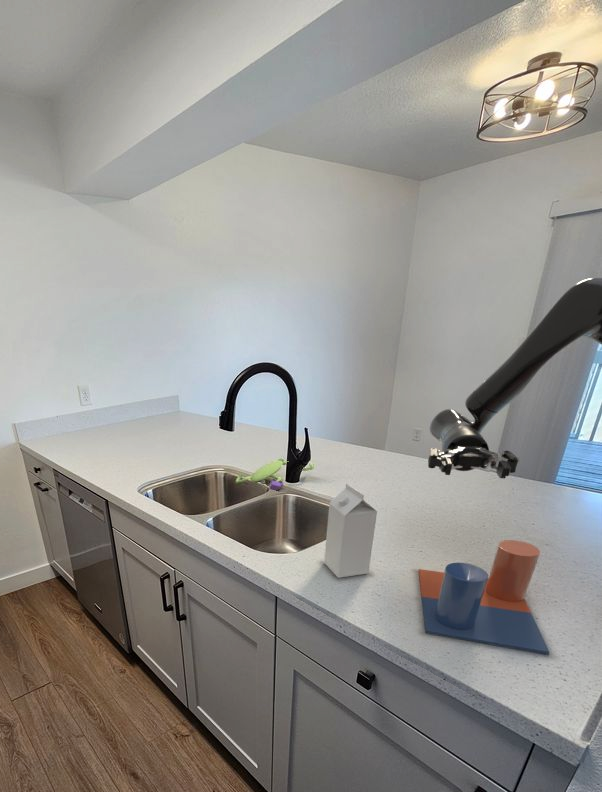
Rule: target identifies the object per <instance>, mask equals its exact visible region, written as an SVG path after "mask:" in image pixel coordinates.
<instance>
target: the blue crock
mask: <svg viewBox="0 0 602 792" xmlns="http://www.w3.org/2000/svg"><path fill="white" fill-rule="evenodd" d="M443 572H444V576H443V580H442V584H441V589H440V593H439V597H438V601H437V606H436V610H435V618H436V619H437V620H438V621H439V622H440V623H441V624H443V625H445V626H447V627H450V628H453V629H459V630H466V629H470V628H472V627H473V626H474V624H475V621H476V617H477V614H478V611H479V607H480V604H481V600H482V597H483V593H484V590H485V587H486V583H487V580H488V578H489V574H488V572H487V571H486V570H485V569H484V568H482V567H481V566H477V565H475V564H472V563H466V562H451V563H448V564H447V565H445V567H444V571H443Z"/></svg>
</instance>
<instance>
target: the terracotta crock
mask: <svg viewBox="0 0 602 792" xmlns="http://www.w3.org/2000/svg"><path fill="white" fill-rule="evenodd" d="M495 551H496V552H495V555H494V559H493V562H492V565H491V569H490V572H489V574H488V578H489V579H488V582H487V586H486V591H487V592H488V593H489V594H490V595H491V596H493V597H495V598H497V599H500V600H504V601H509V602H519V601H522V600H523V599H524V598H525V599H526V596H527V592H528V589H529V587H530V584H531V581H532V577H533V575H534V572H535V569H536V566H537V563H538V560H539V557H540V555H541V550H540V549H539V548H538V547H537V546H536V545H534V544H531V543H528V542H525V541H522V540H515V539H506V540H502V541H499V543H498V544H497V548H496V550H495Z"/></svg>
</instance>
